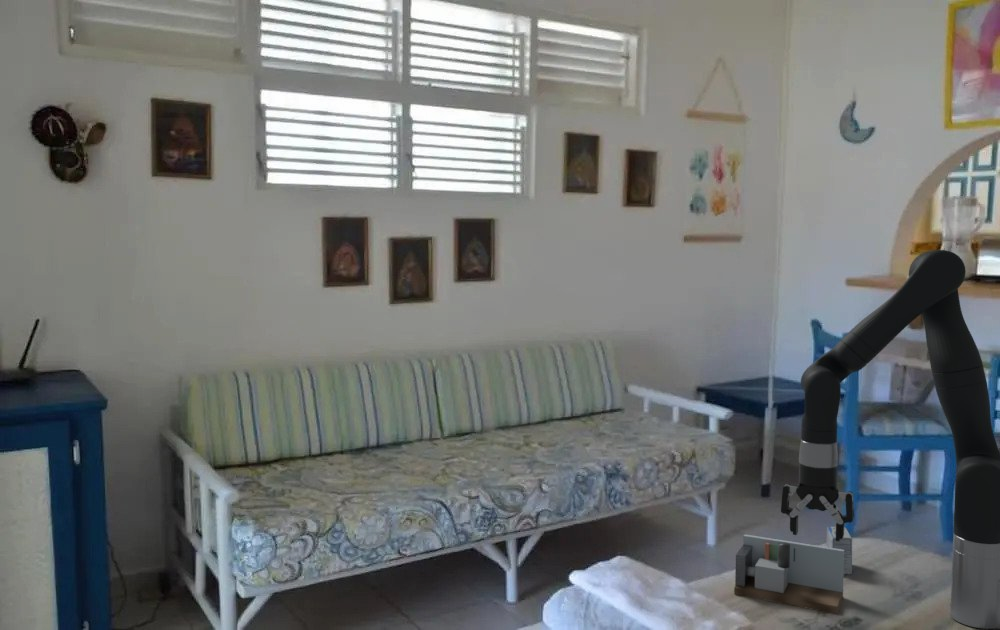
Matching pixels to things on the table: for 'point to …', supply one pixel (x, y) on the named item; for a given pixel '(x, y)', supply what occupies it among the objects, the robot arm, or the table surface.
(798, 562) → the board
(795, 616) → the table surface
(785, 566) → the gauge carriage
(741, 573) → the textured charcoal block
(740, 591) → the base
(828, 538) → the medicine box
